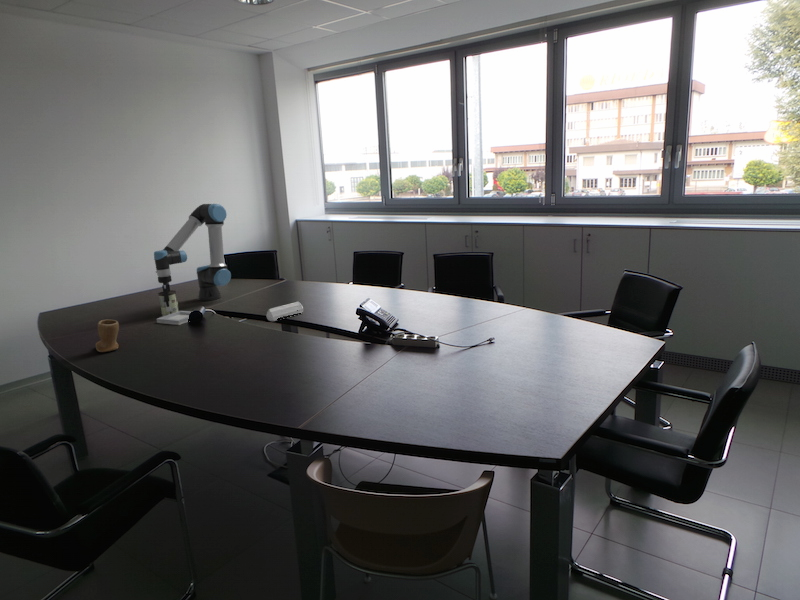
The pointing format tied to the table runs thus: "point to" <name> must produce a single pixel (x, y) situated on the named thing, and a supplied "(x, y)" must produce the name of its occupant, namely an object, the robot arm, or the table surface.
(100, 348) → the stone cup
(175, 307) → the coffee can
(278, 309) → the crystal
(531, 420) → the table surface
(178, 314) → the plate
